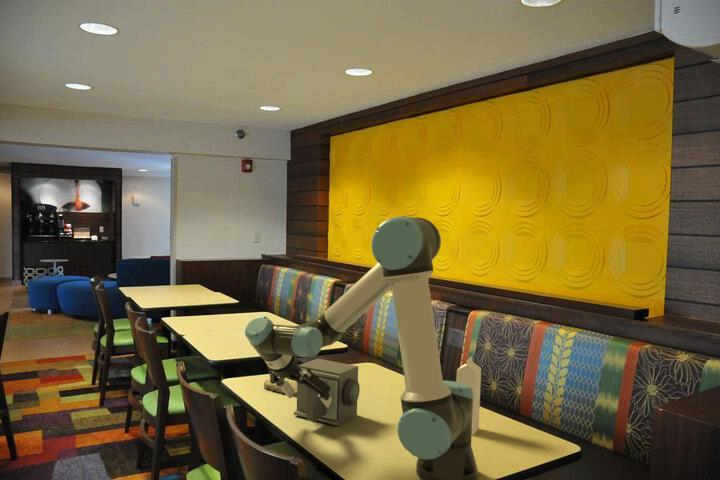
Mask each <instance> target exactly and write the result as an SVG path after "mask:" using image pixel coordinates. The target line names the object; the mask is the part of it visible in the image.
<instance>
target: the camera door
mask: <svg viewBox="0 0 720 480" xmlns="http://www.w3.org/2000/svg"><path fill="white" fill-rule="evenodd" d="M317 377H318V378H319V379H321V380H322V381H323V382H324V383H326V384H327V385H328V386H329V387H331V389H330V391H329V393H328V394H329V395H330V397H331V399H332V401H331V403H330V405H329V407H326V406H325V405H324V403H323V402H322V401H321V399H320V398H319V396H318V393H316V392H314V391H313V390H311V389H310V388H308V387H307V418H306V421H310V422H314V421H317V419H319V418H321V417H325V418H329V419H333V420H336V419H337V387H338V380H333V379H329V378H324V377H319V376H317Z"/></svg>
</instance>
